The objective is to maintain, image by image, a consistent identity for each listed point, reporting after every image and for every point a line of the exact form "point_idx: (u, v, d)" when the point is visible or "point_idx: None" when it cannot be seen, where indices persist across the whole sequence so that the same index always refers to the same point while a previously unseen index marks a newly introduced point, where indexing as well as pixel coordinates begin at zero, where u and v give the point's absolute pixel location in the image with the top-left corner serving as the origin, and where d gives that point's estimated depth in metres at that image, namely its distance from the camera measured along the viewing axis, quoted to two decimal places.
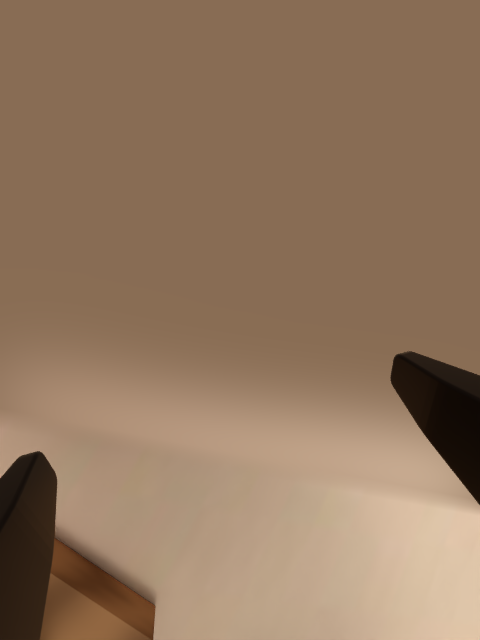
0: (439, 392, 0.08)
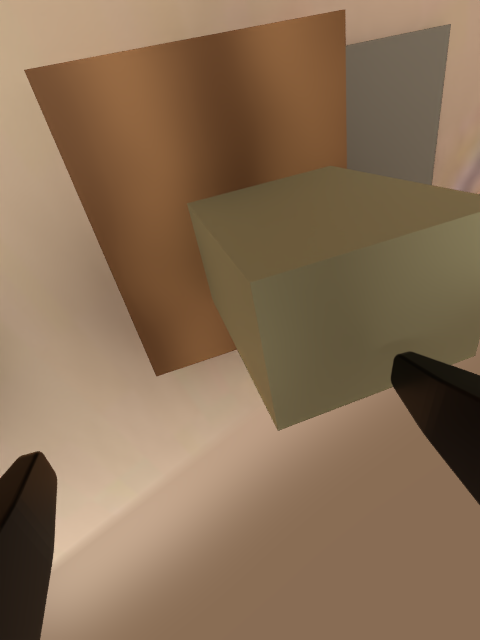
0: (439, 392, 0.08)
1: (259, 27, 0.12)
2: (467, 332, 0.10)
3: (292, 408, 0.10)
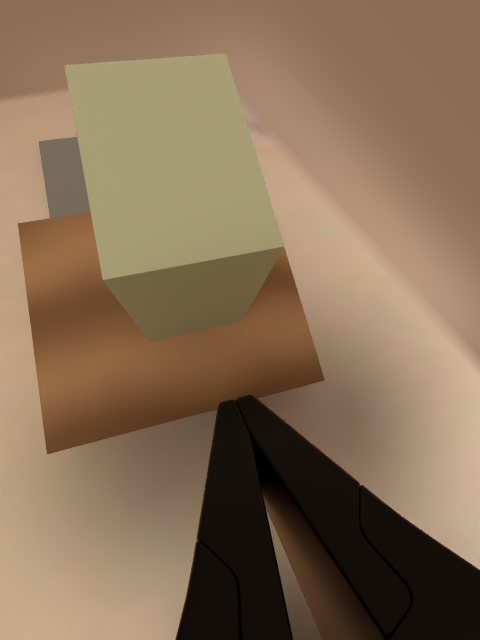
0: (254, 447, 0.07)
1: (26, 284, 0.17)
2: (195, 69, 0.11)
3: (255, 233, 0.10)
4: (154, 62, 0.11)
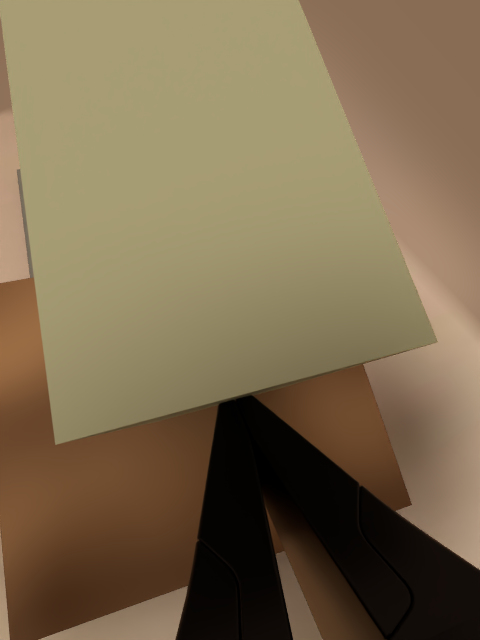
0: (254, 447, 0.07)
1: None
2: (239, 6, 0.06)
3: (378, 316, 0.05)
4: None
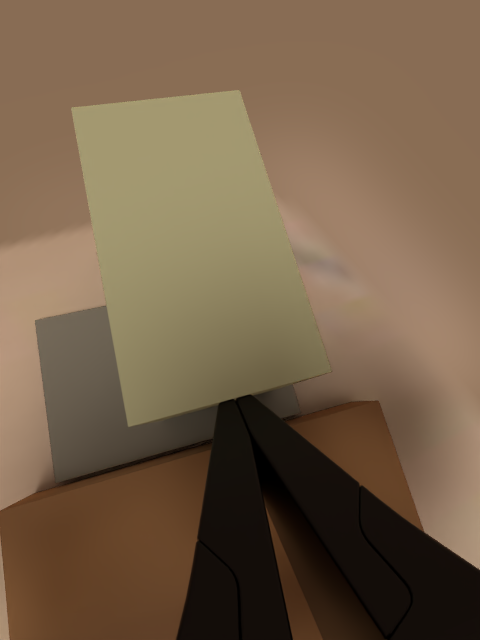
0: (254, 448, 0.07)
1: (11, 636, 0.10)
2: None
3: None
4: None
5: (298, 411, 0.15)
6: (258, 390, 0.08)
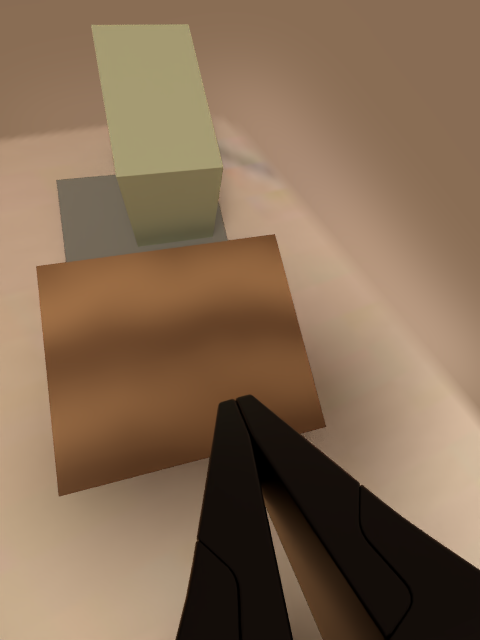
0: (254, 448, 0.07)
1: (43, 327, 0.18)
2: None
3: None
4: None
5: None
6: (183, 170, 0.16)
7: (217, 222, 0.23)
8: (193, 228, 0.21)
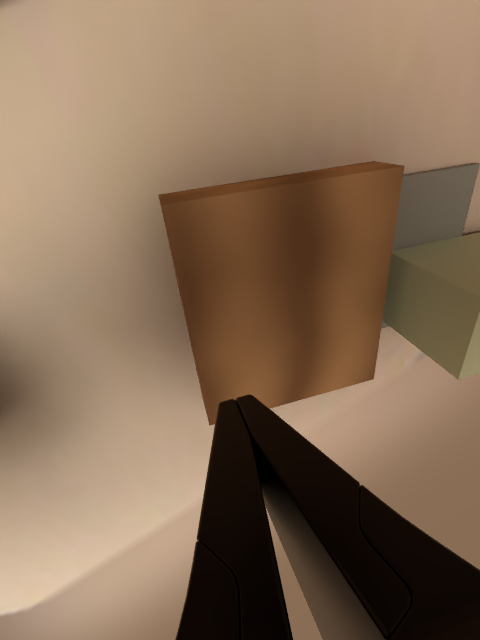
0: (254, 448, 0.07)
1: (338, 177, 0.16)
2: None
3: None
4: None
5: None
6: (467, 351, 0.17)
7: None
8: (395, 311, 0.22)
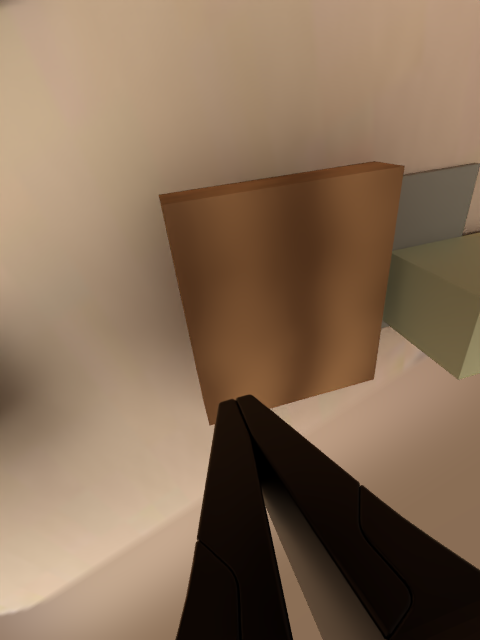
0: (254, 447, 0.07)
1: (339, 177, 0.16)
2: None
3: None
4: None
5: None
6: (467, 351, 0.17)
7: None
8: (396, 311, 0.22)
